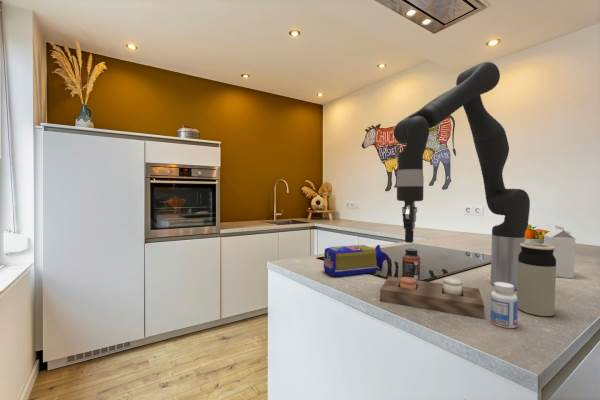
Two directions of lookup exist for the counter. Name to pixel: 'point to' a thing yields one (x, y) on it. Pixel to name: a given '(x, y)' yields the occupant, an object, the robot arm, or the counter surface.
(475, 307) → the panel
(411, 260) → the supplement bottle
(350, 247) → the bread
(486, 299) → the counter surface
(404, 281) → the orange lidded jar
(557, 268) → the milk carton
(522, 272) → the travel mug
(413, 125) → the robot arm
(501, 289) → the pill bottle
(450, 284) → the white lidded jar
